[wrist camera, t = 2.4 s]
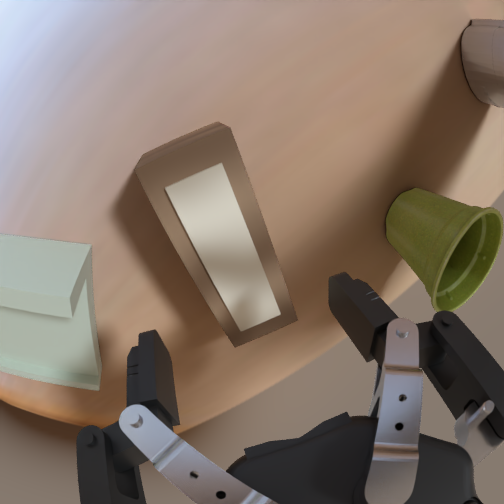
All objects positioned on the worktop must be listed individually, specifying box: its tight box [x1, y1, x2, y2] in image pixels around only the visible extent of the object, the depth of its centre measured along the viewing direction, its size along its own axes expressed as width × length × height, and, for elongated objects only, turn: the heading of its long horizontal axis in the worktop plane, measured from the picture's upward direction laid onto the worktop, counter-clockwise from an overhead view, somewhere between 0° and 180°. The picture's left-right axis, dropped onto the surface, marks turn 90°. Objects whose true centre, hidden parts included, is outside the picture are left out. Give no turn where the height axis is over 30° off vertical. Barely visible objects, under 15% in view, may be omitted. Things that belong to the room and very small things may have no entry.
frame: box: [134, 122, 298, 347], centre depth 18 cm, size 14×5×5 cm, turn 19°
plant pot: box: [386, 188, 503, 312], centre depth 21 cm, size 9×9×9 cm
